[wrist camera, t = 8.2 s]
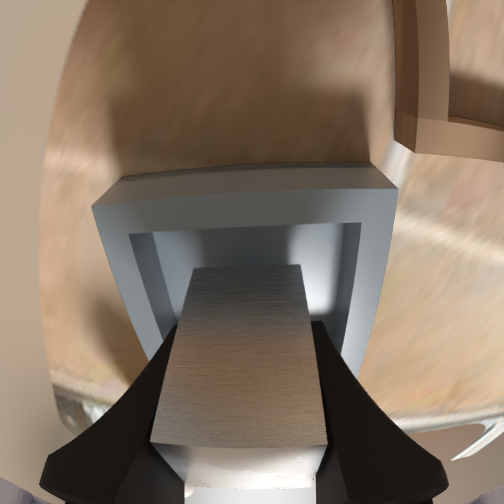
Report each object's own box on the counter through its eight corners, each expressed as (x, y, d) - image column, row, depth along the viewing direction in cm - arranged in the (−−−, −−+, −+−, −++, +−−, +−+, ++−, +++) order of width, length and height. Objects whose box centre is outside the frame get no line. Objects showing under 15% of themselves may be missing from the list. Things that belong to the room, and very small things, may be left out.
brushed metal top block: (300, 263, 12) (327, 444, 6) (297, 337, 14) (310, 486, 8) (193, 267, 12) (149, 441, 6) (208, 339, 14) (188, 485, 8)
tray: (370, 162, 12) (398, 189, 9) (346, 339, 18) (356, 380, 15) (122, 176, 13) (91, 206, 10) (170, 345, 18) (160, 385, 16)
